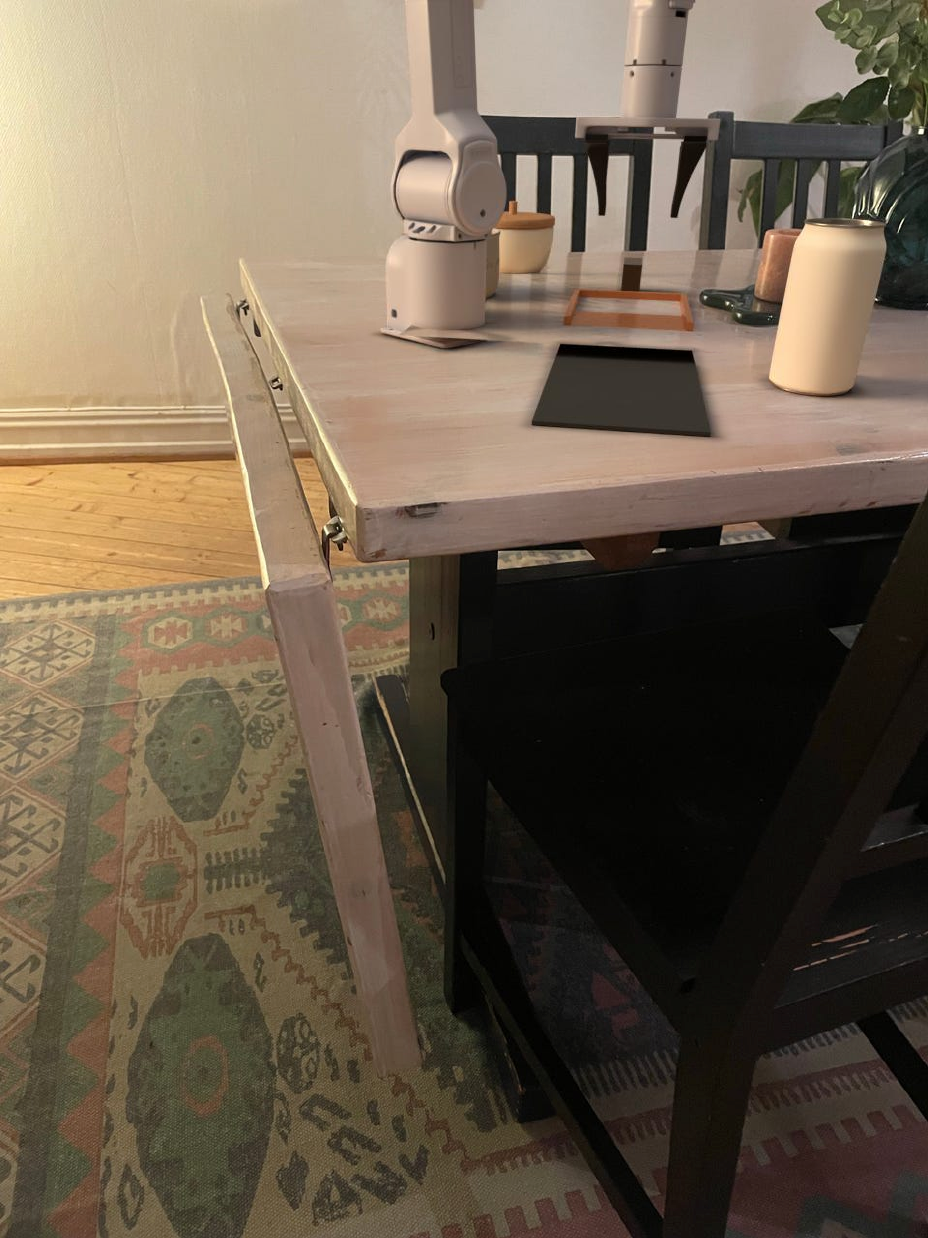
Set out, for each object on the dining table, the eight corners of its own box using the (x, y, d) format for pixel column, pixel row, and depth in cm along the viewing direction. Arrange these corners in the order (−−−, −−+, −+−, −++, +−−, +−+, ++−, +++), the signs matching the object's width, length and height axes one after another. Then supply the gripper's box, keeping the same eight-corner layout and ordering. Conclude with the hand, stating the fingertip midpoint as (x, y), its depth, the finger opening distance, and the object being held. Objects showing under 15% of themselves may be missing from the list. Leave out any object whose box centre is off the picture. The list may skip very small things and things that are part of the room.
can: (755, 375, 71) (784, 217, 65) (830, 375, 72) (865, 217, 66) (787, 397, 66) (821, 226, 60) (868, 396, 66) (910, 226, 60)
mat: (531, 424, 59) (531, 420, 59) (561, 342, 81) (561, 339, 81) (710, 436, 57) (710, 432, 57) (691, 349, 80) (691, 346, 79)
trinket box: (565, 278, 115) (570, 200, 110) (526, 289, 107) (530, 206, 102) (496, 271, 120) (498, 196, 115) (454, 281, 112) (454, 201, 107)
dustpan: (562, 330, 82) (566, 285, 80) (577, 293, 101) (580, 255, 99) (691, 337, 80) (698, 290, 78) (682, 297, 99) (687, 259, 97)
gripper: (724, 69, 89) (704, 214, 95) (582, 68, 91) (573, 210, 98) (730, 65, 83) (708, 220, 89) (578, 64, 85) (568, 216, 92)
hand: (637, 215), depth 93 cm, fingers open, 7 cm apart
